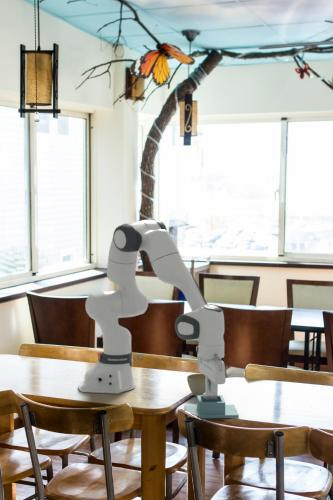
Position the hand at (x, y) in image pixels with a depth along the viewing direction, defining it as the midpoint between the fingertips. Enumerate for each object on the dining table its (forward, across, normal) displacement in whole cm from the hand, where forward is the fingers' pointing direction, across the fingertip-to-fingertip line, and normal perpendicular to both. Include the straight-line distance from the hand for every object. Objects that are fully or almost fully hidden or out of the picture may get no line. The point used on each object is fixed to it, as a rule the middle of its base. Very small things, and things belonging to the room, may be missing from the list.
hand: (211, 390), depth 249 cm
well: (+8, +1, 0) cm, 9 cm away
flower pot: (+9, +23, -3) cm, 25 cm away
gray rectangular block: (+3, +1, 0) cm, 3 cm away
